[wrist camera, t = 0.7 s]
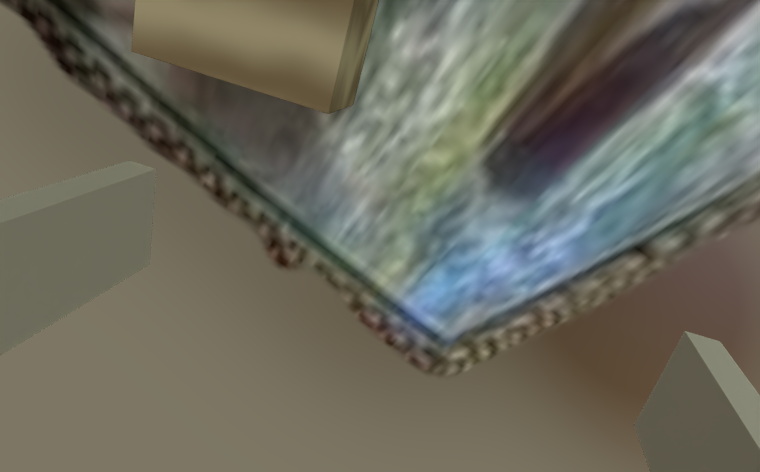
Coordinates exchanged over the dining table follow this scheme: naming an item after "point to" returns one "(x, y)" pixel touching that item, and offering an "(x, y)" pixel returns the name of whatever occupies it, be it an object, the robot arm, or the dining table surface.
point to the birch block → (264, 44)
